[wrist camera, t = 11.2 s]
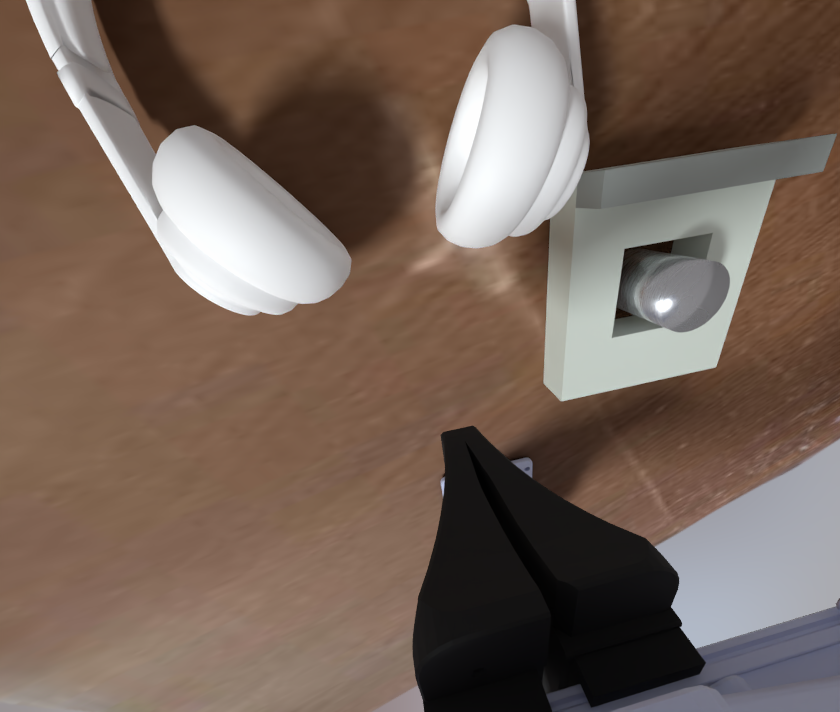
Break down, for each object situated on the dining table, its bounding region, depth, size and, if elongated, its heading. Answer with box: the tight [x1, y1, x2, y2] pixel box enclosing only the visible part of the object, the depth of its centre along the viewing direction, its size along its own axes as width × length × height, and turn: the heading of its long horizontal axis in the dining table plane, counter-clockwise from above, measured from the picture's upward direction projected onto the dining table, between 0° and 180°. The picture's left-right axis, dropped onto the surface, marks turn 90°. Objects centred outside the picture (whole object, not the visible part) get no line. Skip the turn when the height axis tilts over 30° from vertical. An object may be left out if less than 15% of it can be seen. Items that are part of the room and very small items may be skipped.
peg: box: [616, 248, 730, 332], centre depth 20 cm, size 4×4×5 cm
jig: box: [543, 134, 837, 401], centre depth 20 cm, size 14×12×4 cm
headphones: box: [26, 0, 590, 315], centre depth 12 cm, size 20×8×20 cm
